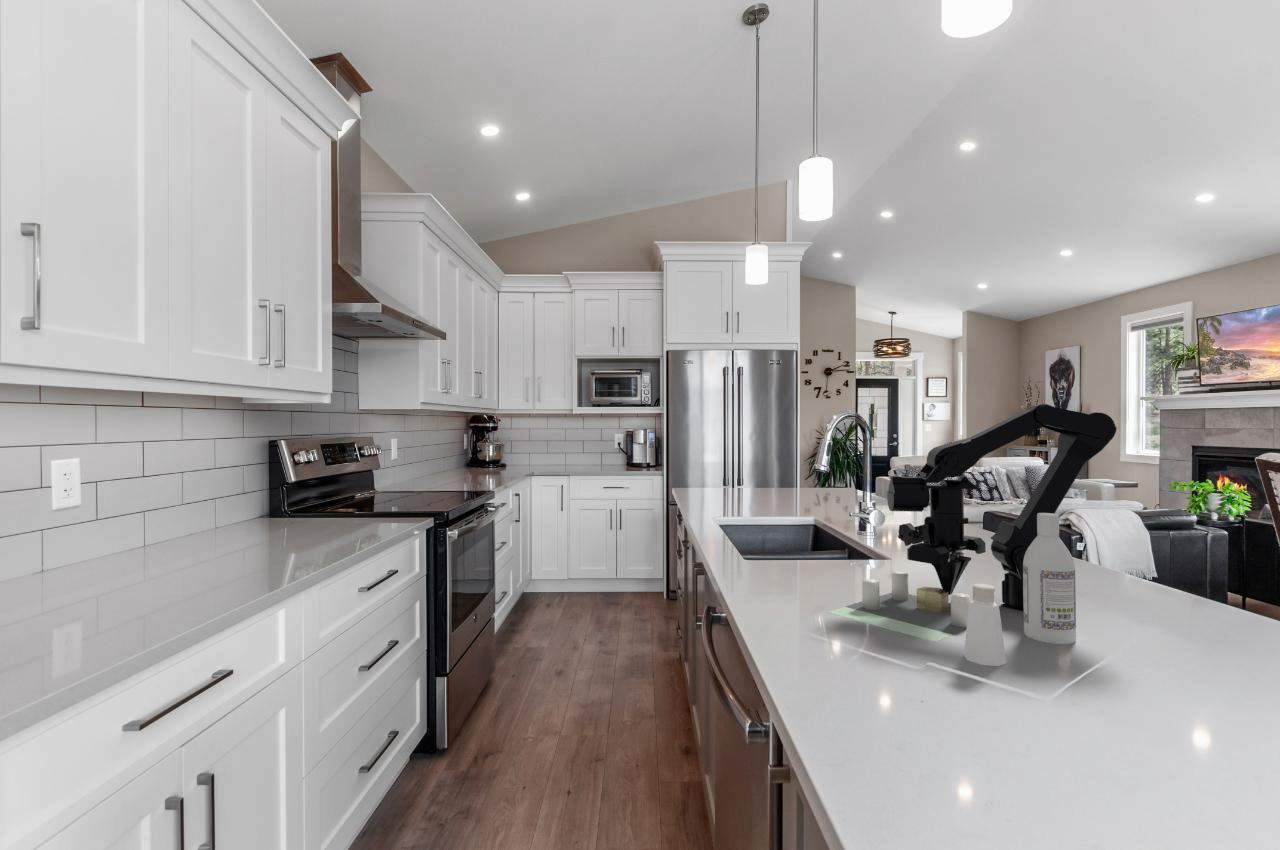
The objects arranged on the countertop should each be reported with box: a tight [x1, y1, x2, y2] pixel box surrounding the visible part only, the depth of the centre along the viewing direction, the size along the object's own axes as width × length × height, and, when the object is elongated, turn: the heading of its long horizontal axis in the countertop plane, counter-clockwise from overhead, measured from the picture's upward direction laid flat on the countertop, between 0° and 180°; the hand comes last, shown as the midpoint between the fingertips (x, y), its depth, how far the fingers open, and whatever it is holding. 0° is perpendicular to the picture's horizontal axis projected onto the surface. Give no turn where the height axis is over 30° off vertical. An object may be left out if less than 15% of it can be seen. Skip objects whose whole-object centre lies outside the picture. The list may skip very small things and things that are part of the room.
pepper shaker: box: [963, 583, 1007, 667], centre depth 89 cm, size 5×5×11 cm
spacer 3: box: [950, 592, 972, 628], centre depth 104 cm, size 3×3×5 cm
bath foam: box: [1023, 513, 1077, 645], centre depth 98 cm, size 7×7×20 cm
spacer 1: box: [861, 578, 881, 610], centre depth 114 cm, size 3×3×5 cm
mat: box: [827, 592, 967, 643], centre depth 111 cm, size 20×23×1 cm
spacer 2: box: [891, 570, 909, 601], centre depth 120 cm, size 3×3×5 cm
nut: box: [916, 586, 950, 614], centre depth 113 cm, size 5×5×4 cm
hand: (947, 594), depth 117 cm, fingers closed
